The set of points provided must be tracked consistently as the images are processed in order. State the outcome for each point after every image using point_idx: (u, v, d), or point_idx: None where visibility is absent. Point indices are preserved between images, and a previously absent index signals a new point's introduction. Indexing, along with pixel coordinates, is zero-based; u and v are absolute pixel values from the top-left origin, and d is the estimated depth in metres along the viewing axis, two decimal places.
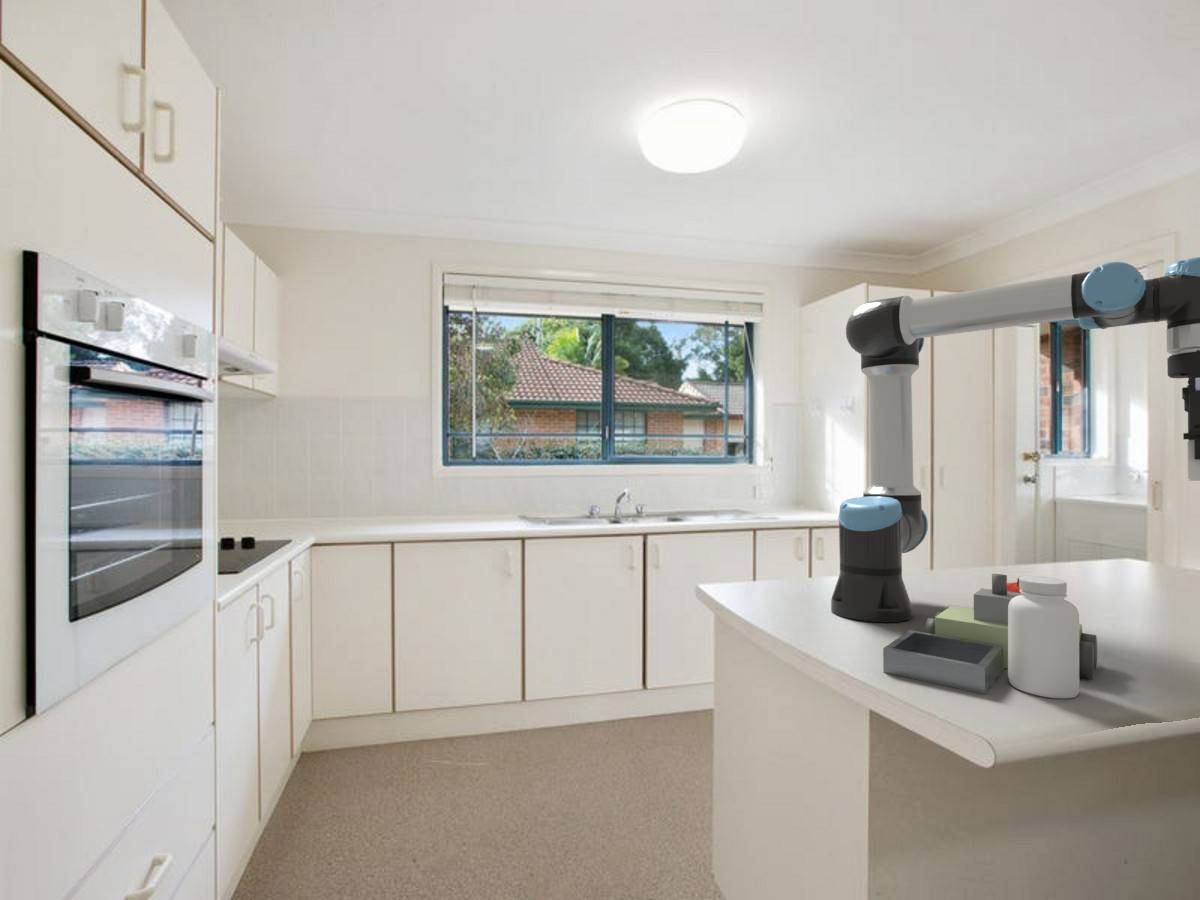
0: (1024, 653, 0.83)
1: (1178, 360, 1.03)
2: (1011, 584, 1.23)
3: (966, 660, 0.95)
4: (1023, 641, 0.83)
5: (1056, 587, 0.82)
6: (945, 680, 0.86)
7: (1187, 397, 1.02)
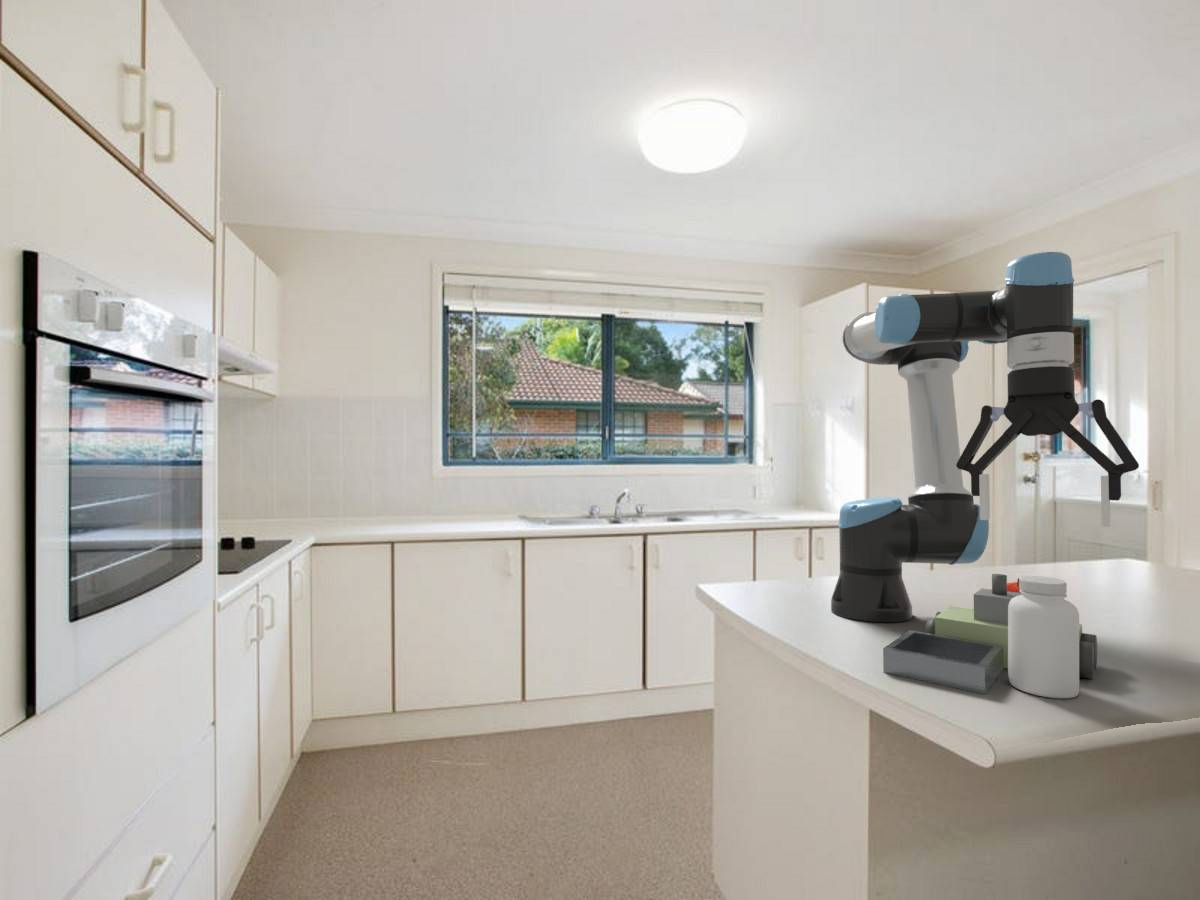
0: (1024, 653, 0.83)
1: None
2: (1011, 584, 1.23)
3: (966, 660, 0.95)
4: (1023, 641, 0.83)
5: (1056, 587, 0.82)
6: (945, 680, 0.86)
7: None
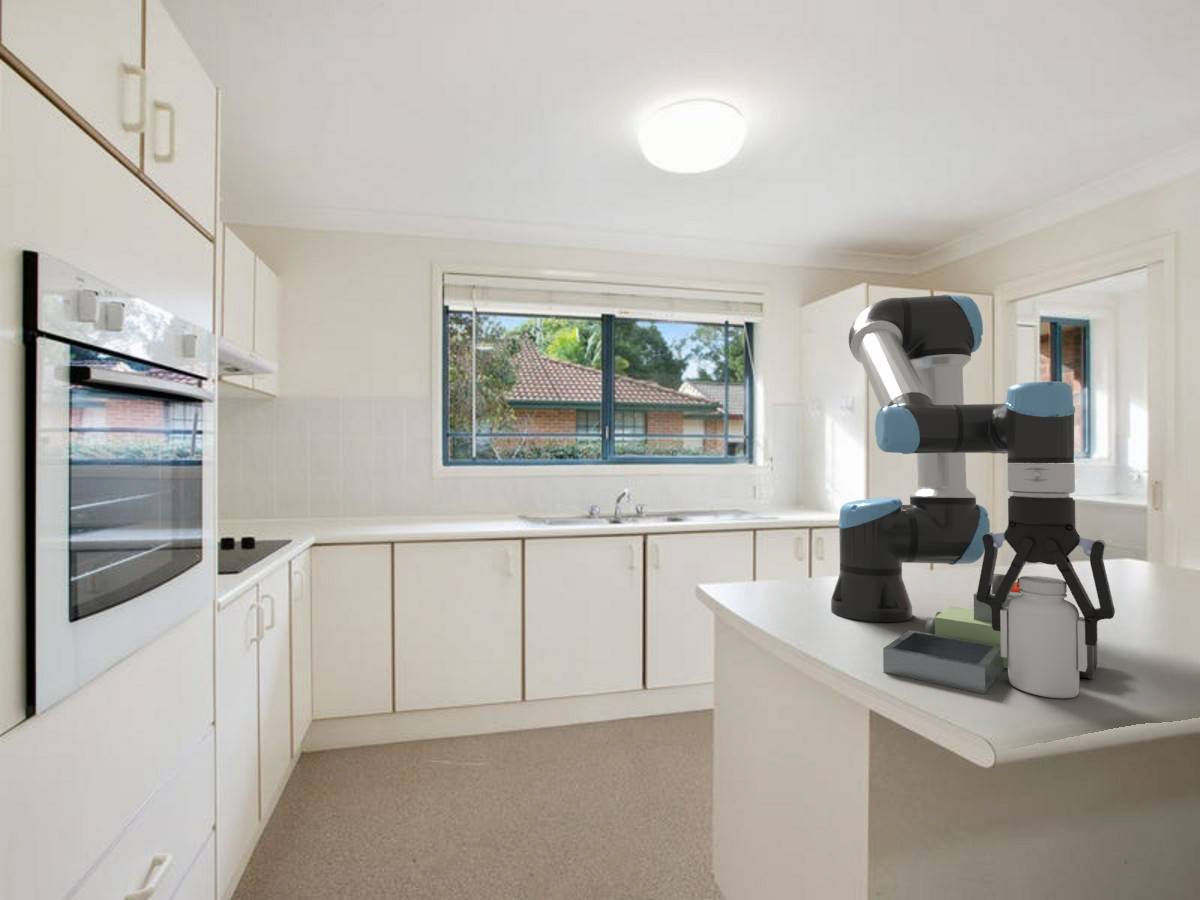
0: (1024, 653, 0.83)
1: None
2: None
3: (966, 660, 0.95)
4: (1023, 641, 0.83)
5: (1056, 587, 0.82)
6: (945, 680, 0.86)
7: None
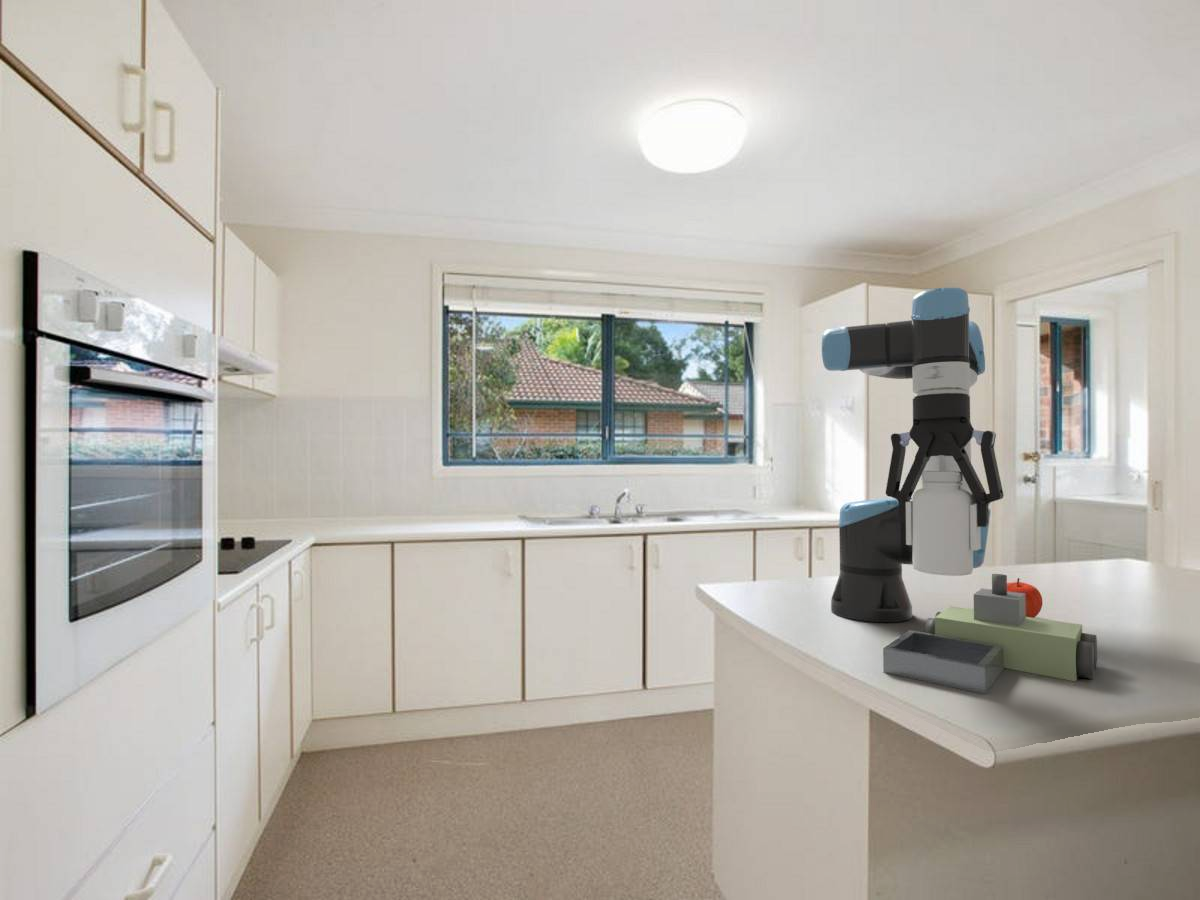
0: (923, 536, 0.91)
1: None
2: (1011, 584, 1.23)
3: (966, 660, 0.95)
4: (923, 526, 0.91)
5: (951, 475, 0.90)
6: (945, 680, 0.86)
7: None
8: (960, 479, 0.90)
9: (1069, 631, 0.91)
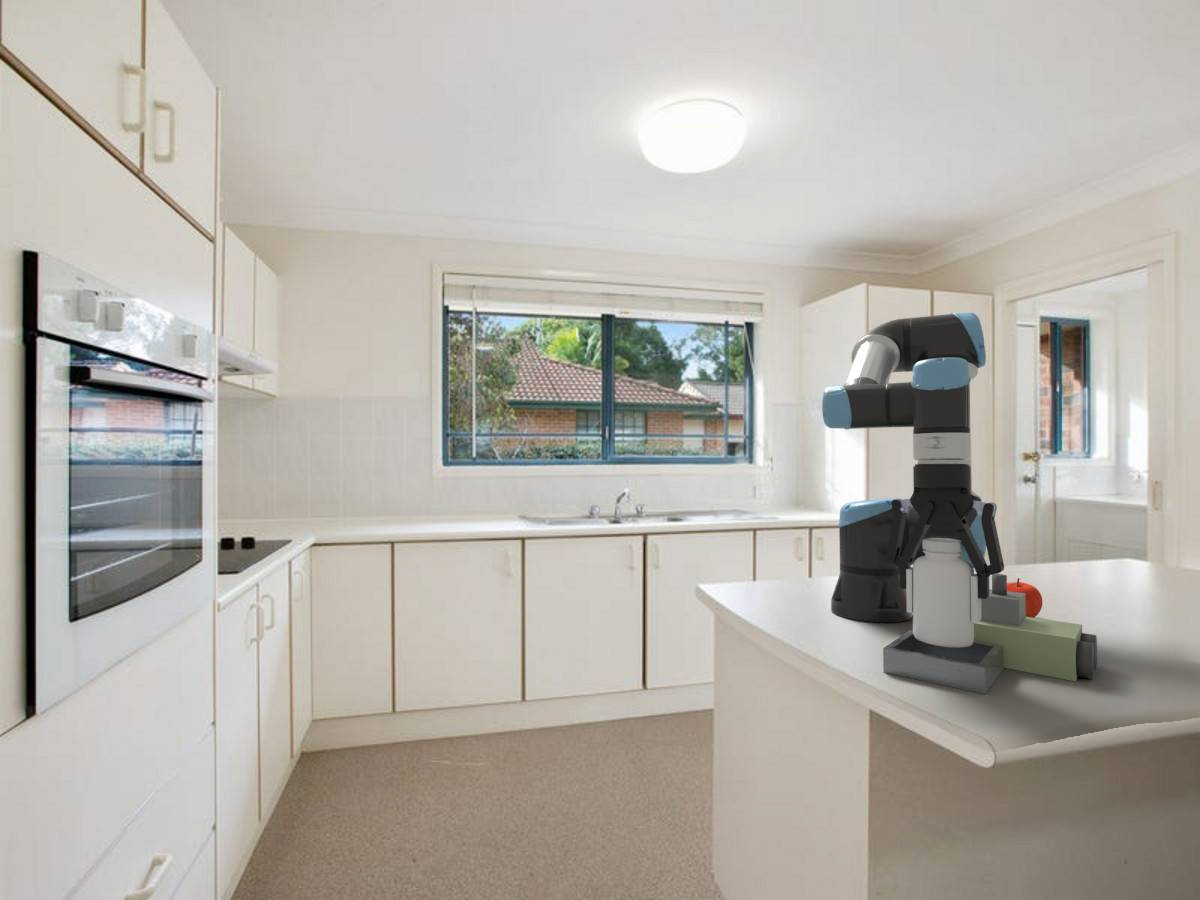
0: (924, 606, 0.90)
1: None
2: (1011, 584, 1.23)
3: (966, 660, 0.95)
4: (923, 596, 0.91)
5: (952, 546, 0.90)
6: (945, 680, 0.86)
7: None
8: (961, 550, 0.90)
9: (1069, 631, 0.91)
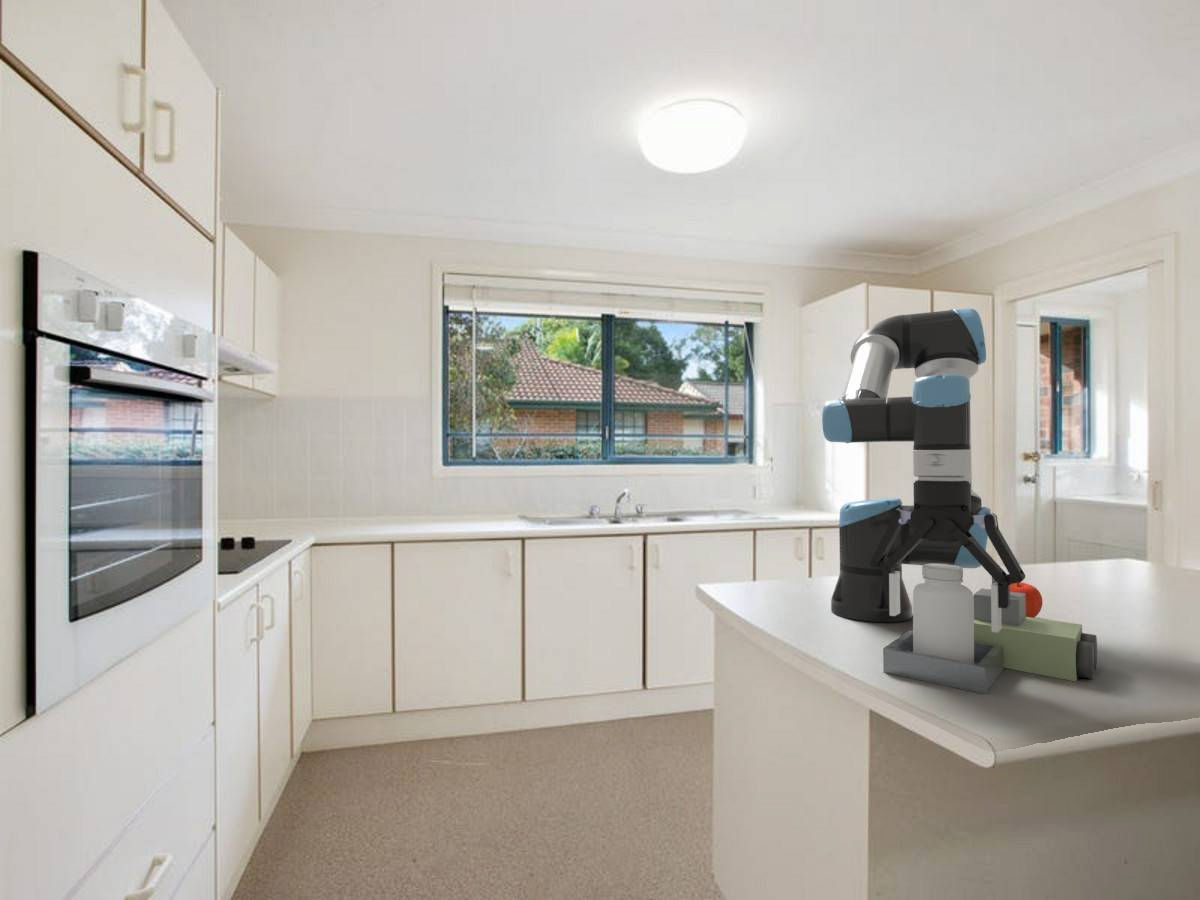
0: (924, 634, 0.91)
1: None
2: (1011, 584, 1.23)
3: None
4: (923, 623, 0.91)
5: (952, 573, 0.90)
6: (945, 680, 0.86)
7: None
8: (960, 577, 0.90)
9: (1069, 631, 0.91)
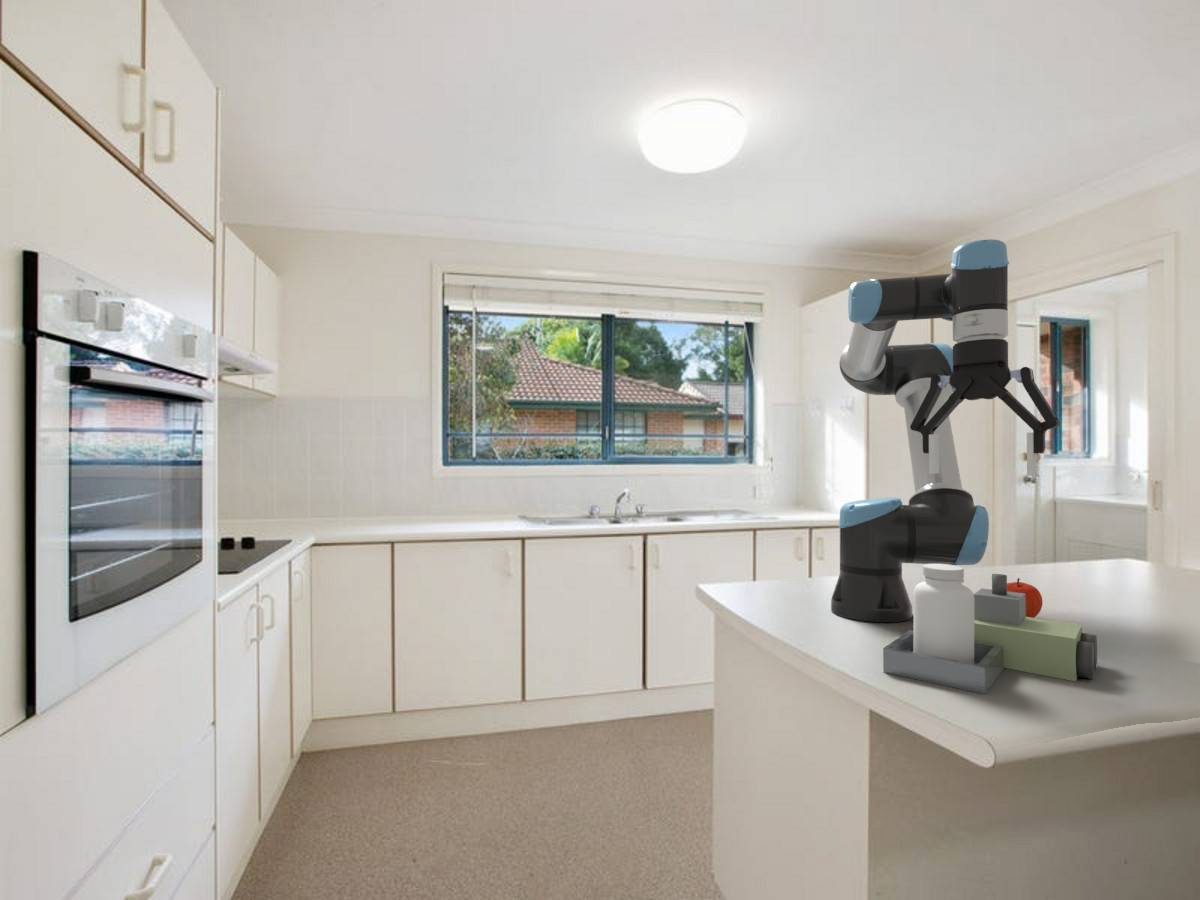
0: (924, 633, 0.91)
1: None
2: (1011, 584, 1.23)
3: None
4: (924, 623, 0.91)
5: (953, 573, 0.90)
6: (945, 680, 0.86)
7: None
8: (961, 577, 0.90)
9: (1069, 631, 0.91)
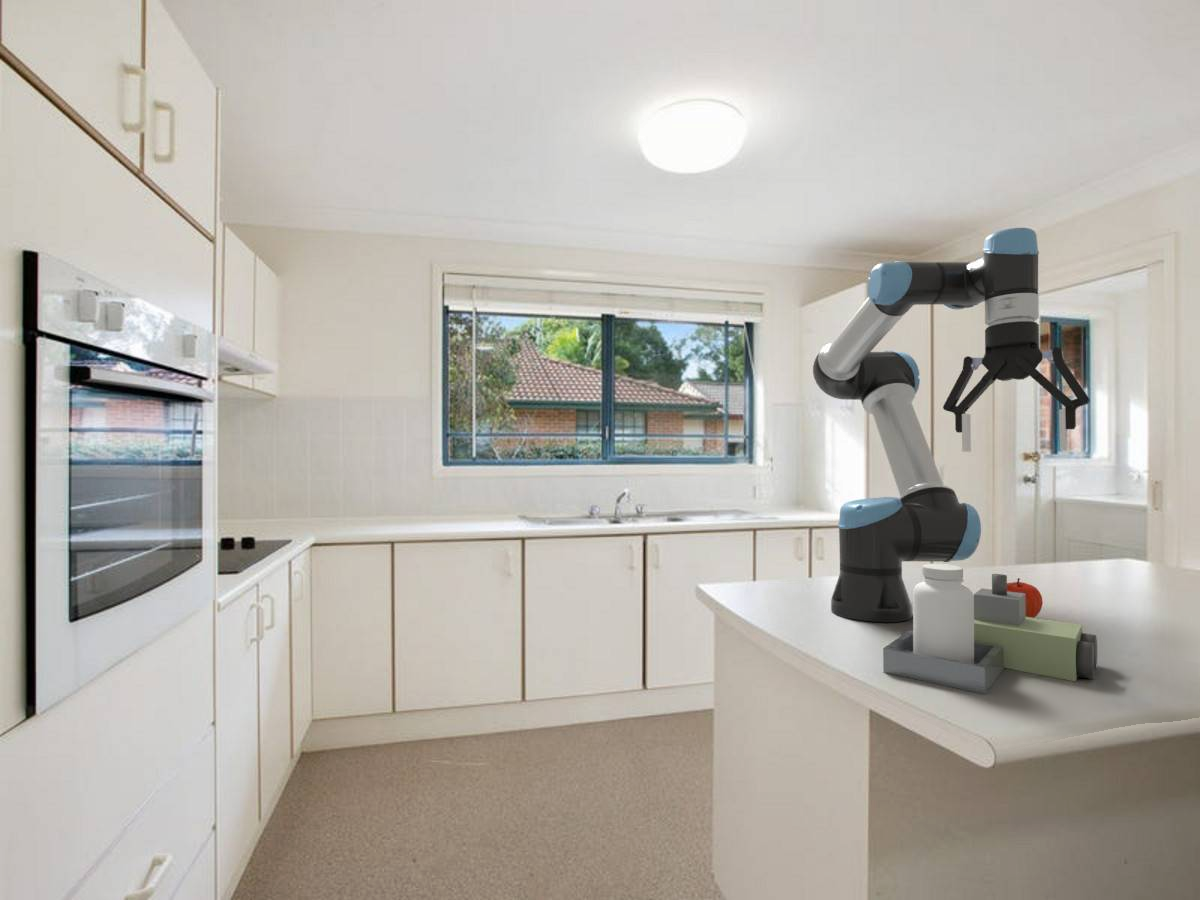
0: (924, 633, 0.91)
1: None
2: (1011, 584, 1.23)
3: None
4: (923, 623, 0.91)
5: (952, 573, 0.90)
6: (945, 680, 0.86)
7: None
8: (961, 577, 0.90)
9: (1069, 631, 0.91)
